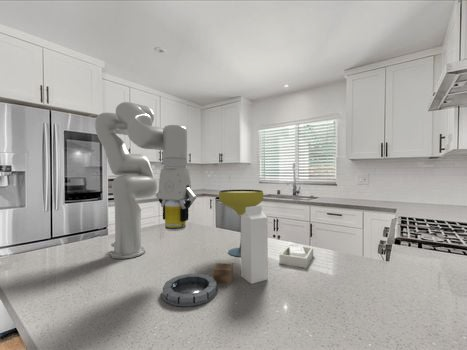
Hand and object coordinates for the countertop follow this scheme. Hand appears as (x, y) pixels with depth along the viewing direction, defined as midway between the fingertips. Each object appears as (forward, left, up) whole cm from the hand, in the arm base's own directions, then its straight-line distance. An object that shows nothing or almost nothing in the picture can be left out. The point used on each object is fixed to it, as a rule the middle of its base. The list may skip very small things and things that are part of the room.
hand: (175, 219), depth 78 cm
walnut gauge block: (+16, +3, -18) cm, 24 cm away
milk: (+24, +8, -18) cm, 31 cm away
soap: (+32, +30, -17) cm, 47 cm away
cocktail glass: (+10, +28, -18) cm, 35 cm away
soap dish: (+32, +30, -17) cm, 47 cm away
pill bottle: (0, 0, -3) cm, 3 cm away
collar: (+12, -8, -17) cm, 23 cm away
